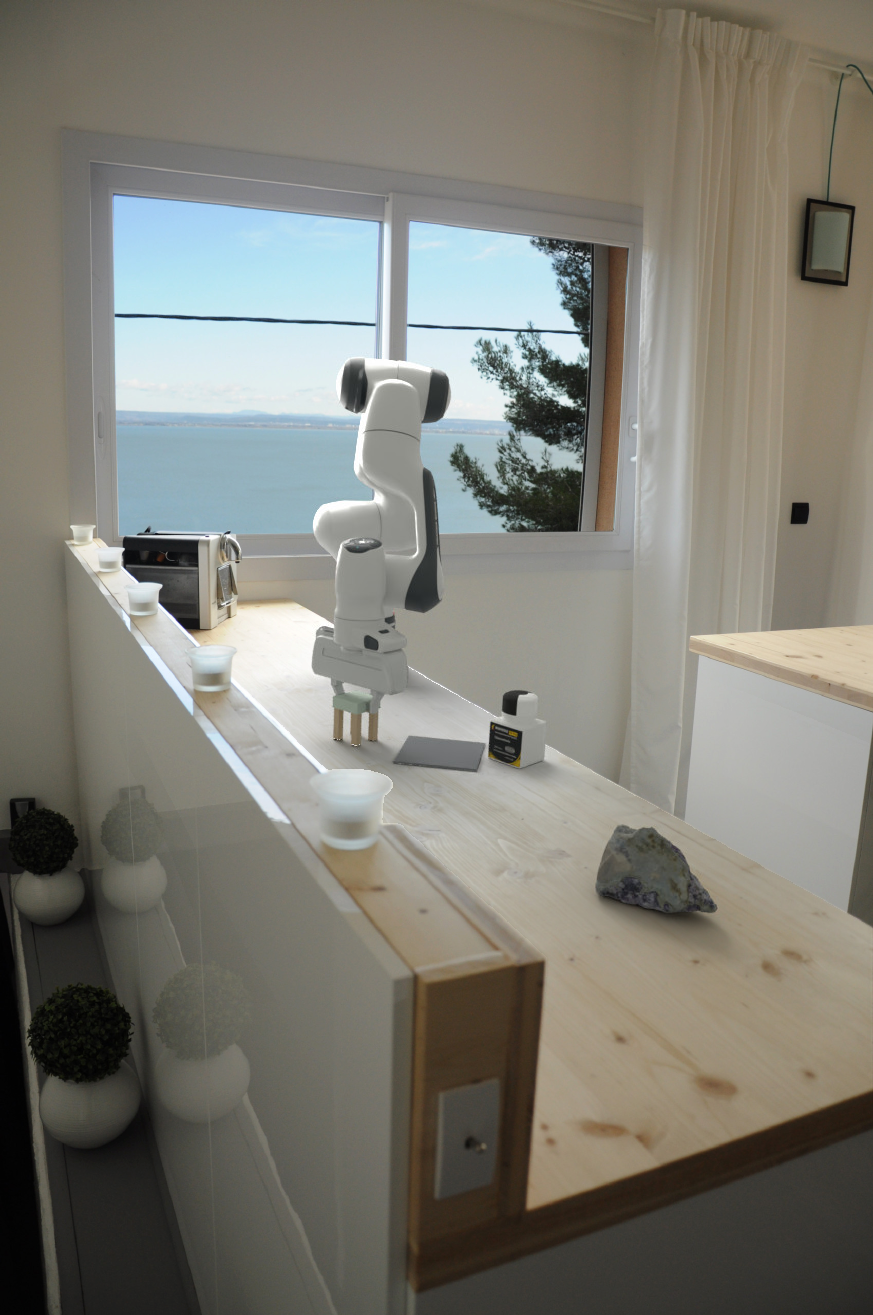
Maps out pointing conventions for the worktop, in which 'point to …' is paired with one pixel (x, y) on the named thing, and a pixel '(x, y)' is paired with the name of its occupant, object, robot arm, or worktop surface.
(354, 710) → the stool
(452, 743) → the mat
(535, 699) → the medicine bottle
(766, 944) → the worktop surface
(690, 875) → the mineral rock
